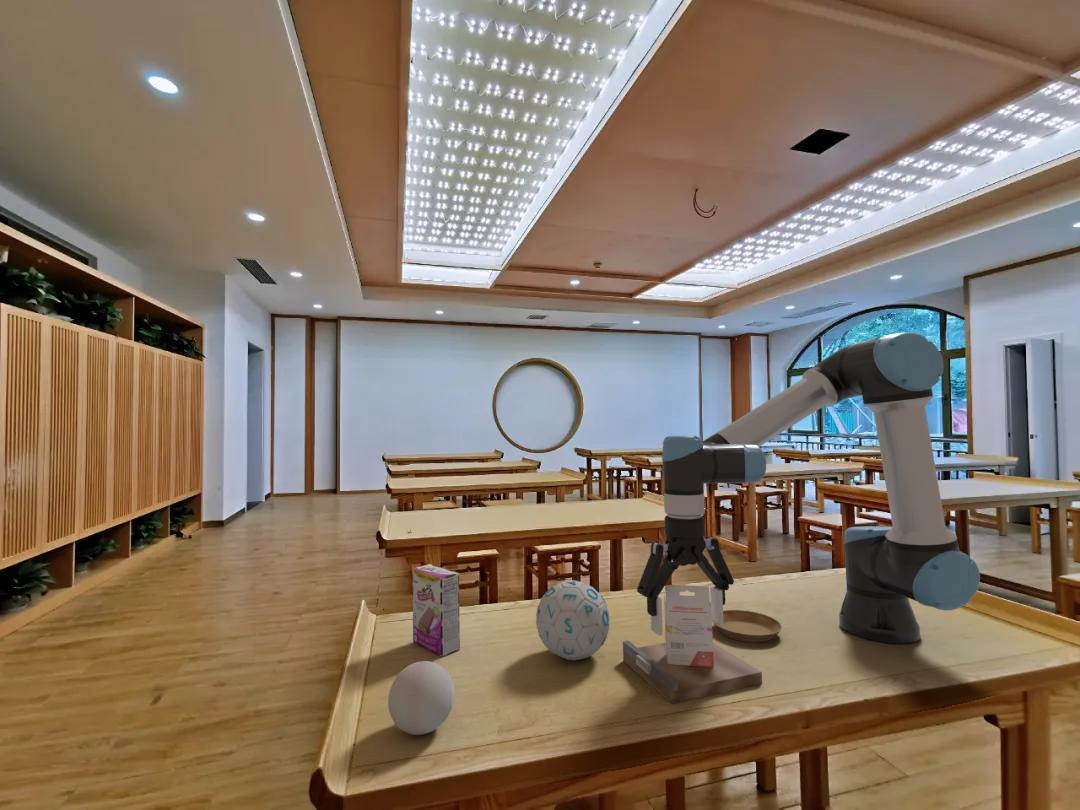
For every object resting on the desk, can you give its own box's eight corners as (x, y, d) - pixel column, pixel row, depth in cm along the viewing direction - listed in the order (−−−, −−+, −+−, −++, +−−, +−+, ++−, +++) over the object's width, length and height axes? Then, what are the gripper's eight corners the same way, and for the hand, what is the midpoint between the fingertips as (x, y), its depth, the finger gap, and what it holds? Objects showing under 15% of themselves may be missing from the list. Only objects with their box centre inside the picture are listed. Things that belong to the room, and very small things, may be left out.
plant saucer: (737, 615, 124) (737, 605, 124) (796, 636, 112) (795, 624, 112) (698, 630, 116) (697, 618, 116) (756, 653, 104) (755, 640, 104)
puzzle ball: (557, 680, 94) (556, 598, 94) (525, 649, 107) (524, 577, 108) (625, 663, 100) (623, 586, 101) (586, 635, 114) (585, 568, 114)
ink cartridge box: (710, 656, 98) (708, 579, 99) (714, 668, 93) (711, 587, 94) (665, 653, 100) (663, 577, 100) (666, 664, 95) (664, 585, 95)
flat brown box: (702, 645, 107) (702, 627, 108) (762, 683, 91) (761, 661, 91) (620, 661, 101) (620, 641, 101) (668, 704, 85) (668, 681, 85)
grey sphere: (396, 713, 84) (396, 651, 84) (458, 710, 84) (457, 649, 85) (380, 751, 74) (380, 681, 74) (450, 748, 74) (450, 678, 75)
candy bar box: (411, 643, 111) (411, 567, 112) (430, 636, 115) (430, 563, 116) (441, 658, 104) (441, 577, 104) (461, 650, 107) (460, 572, 108)
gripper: (724, 508, 105) (728, 611, 104) (617, 516, 97) (620, 629, 96) (750, 513, 98) (754, 624, 97) (637, 523, 90) (640, 645, 89)
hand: (687, 627), depth 97 cm, fingers open, 13 cm apart
